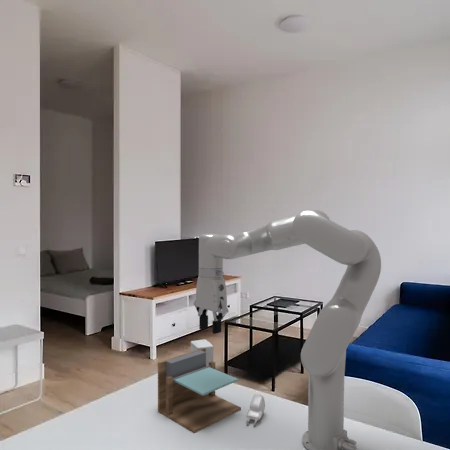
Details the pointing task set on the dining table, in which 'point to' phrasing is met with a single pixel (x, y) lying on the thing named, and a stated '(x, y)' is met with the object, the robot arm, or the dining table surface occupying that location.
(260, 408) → the power adapter
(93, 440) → the dining table surface
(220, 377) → the flap
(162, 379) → the stand
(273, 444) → the dining table surface
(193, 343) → the skincare box
